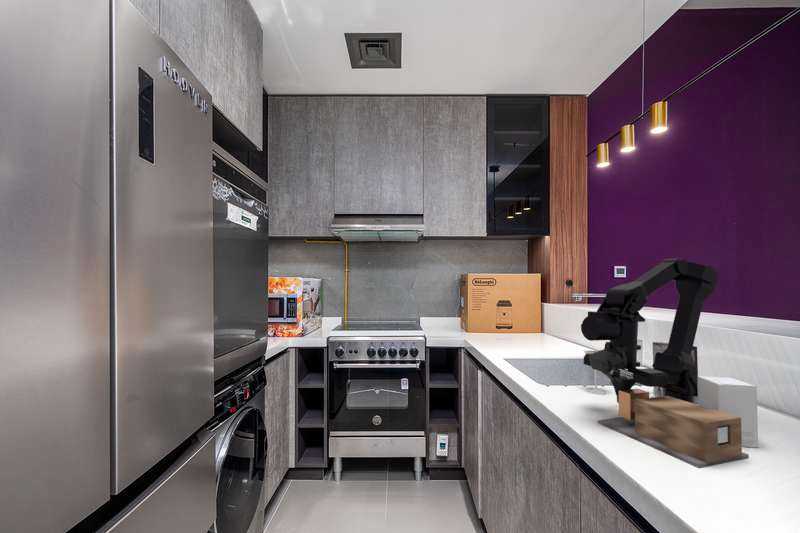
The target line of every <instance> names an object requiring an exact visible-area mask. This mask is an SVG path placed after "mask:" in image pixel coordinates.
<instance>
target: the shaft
mask: <svg viewBox="0 0 800 533" xmlns="http://www.w3.org/2000/svg"><path fill="white" fill-rule="evenodd" d="M642 398H650V391H647V390H644V389H640V388H631V389H626V390H619V403H618V417H622V418H625V419H628V420H630V421H632V420H635V399H642ZM723 442H728V427H727V426H719V427H718V443H723Z"/></svg>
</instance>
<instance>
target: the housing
mask: <svg viewBox="0 0 800 533" xmlns="http://www.w3.org/2000/svg"><path fill="white" fill-rule="evenodd" d="M597 424H599V425H602V426H604V427H606V428H608V429H611V430H612V431H615V432H617V433H619V434H622V435H624V436H627V437H629V438H630V439H633V440H635V441H638V442H640V443H642V444H644V445H645V446H649V447H650V448H652V449H653V448H654V449H656V450H658V451H660V452H663V453H665V454H666V455H669V456H671V457H673V458H676V459H679V460H680V461H683V462H684V463H687V464H690V465H692V466H694V467H696V468H698V469H701V468H704V467H705V468H707V467H710V466H715V465H719V464H724V463H729V462H730V463H731V462H734V461H739V460H745V459H749V456H750V455H749V453H746V452H743V446H742V434H741V417H737V416H734V415H730V414H727V413H724V412H720V411H717V410H714V409H710V408H707V407H704V406H700V405H698V404H696V403H695V404H693V403H690V402H687V401H683V400H680V399H677V398H673V397H670V396H660V397H656V396H653V397H652V396H650V397H649V398H642V399H635V420H632V421H630V420H628V419H625V418H622V417H620V416H618V417H611V418H604V419H598V420H597ZM719 426H727V427H728V442H723V443H718V427H719Z"/></svg>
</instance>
